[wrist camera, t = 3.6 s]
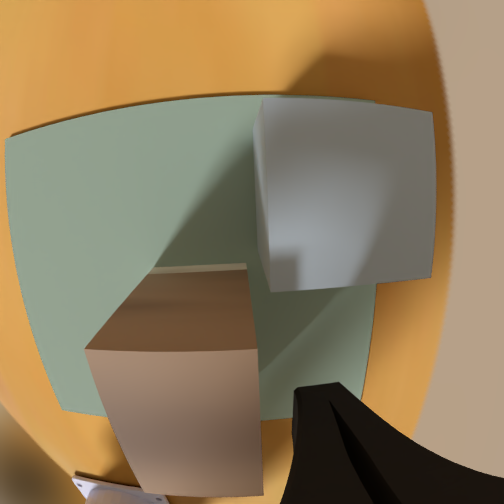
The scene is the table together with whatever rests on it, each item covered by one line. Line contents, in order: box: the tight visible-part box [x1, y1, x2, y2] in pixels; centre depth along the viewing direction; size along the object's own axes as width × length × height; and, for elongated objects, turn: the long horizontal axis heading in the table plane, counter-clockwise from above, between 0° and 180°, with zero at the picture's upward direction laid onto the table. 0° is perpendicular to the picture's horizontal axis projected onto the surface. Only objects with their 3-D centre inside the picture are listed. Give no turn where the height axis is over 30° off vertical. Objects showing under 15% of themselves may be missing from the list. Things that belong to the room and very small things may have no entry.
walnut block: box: [84, 263, 264, 497], centre depth 10 cm, size 6×4×7 cm, turn 2°
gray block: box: [252, 98, 436, 292], centre depth 10 cm, size 5×5×5 cm
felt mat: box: [5, 95, 377, 421], centre depth 13 cm, size 16×18×1 cm
